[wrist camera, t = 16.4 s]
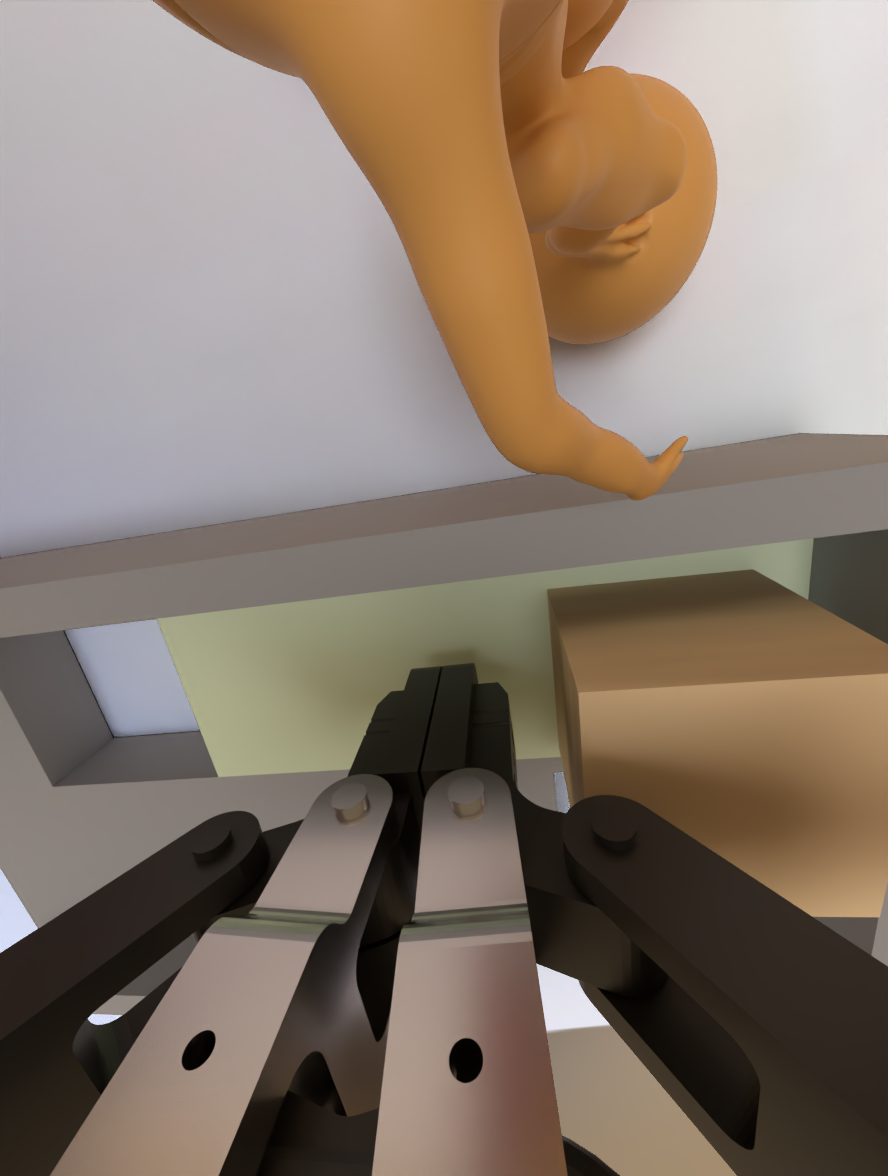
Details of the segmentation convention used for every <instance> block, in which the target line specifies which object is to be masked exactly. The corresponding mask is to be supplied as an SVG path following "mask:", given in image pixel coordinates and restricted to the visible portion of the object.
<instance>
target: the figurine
mask: <svg viewBox="0 0 888 1176" xmlns="http://www.w3.org/2000/svg"><path fill="white" fill-rule="evenodd" d="M153 1H154V2H155V3H157V4H158V5H159V6H161V7H162V8H163V9H164V10H166V11H167V12H169V13H170V14H171V15H173V16H174V17H175V18H177V19H178V20H180V21H181V22H183V23H184V24H186V25H187V26H189V27H190V28H192V29H193V30H195V31H196V32H198V33H199V34H201V35H203V36H204V37H206V38H208V39H209V40H211V41H213V42H215V43H216V44H218V45H220V46H222V47H224V48H225V49H227V50H229V51H231V52H234V53H236V54H238V55H240V56H242V57H244V58H247V59H249V60H252V61H254V62H256V63H258V64H260V65H263V66H265V67H268V68H270V69H273V70H276V71H279V72H282V73H285V74H288V75H292V76H295V77H299V78H301V79H302V80H303V81H304V82H305V83H306V84H307V85H308V87H309V88H310V90H311V91H312V93H313V94H314V96H315V97H316V99H317V101H318V102H319V104H320V106H321V107H322V109H323V111H324V112H325V114H326V116H327V117H328V119H329V121H330V122H331V124H332V126H333V127H334V129H335V131H336V132H337V134H338V135H339V137H340V139H341V140H342V142H343V143H344V145H345V146H346V148H347V150H348V151H349V153H350V154H351V156H352V157H353V159H354V160H355V162H356V163H357V165H358V166H359V167H360V169H361V170H362V172H363V173H364V175H365V176H366V178H367V179H368V181H369V182H370V184H371V186H372V187H373V189H374V190H375V192H376V193H377V195H378V197H379V198H380V200H381V202H382V204H383V205H384V207H385V209H386V211H387V212H388V214H389V216H390V218H391V220H392V222H393V224H394V226H395V228H396V230H397V233H398V235H399V237H400V239H401V242H402V244H403V247H404V249H405V251H406V254H407V257H408V259H409V262H410V264H411V267H412V270H413V272H414V275H415V277H416V280H417V283H418V285H419V287H420V290H421V292H422V295H423V297H424V299H425V302H426V304H427V306H428V309H429V311H430V313H431V315H432V318H433V320H434V322H435V324H436V327H437V329H438V331H439V333H440V336H441V338H442V340H443V342H444V344H445V347H446V349H447V351H448V353H449V355H450V358H451V360H452V362H453V364H454V366H455V369H456V371H457V373H458V375H459V377H460V380H461V382H462V384H463V386H464V388H465V390H466V393H467V395H468V397H469V399H470V401H471V403H472V405H473V407H474V409H475V411H476V413H477V415H478V417H479V419H480V421H481V423H482V425H483V427H484V429H485V431H486V432H487V434H488V436H489V437H490V439H491V441H492V442H493V444H494V445H495V447H496V448H497V449H498V451H499V452H500V453H501V454H502V455H503V456H504V457H505V458H506V459H507V460H508V461H510V462H511V463H512V464H514V465H516V466H518V467H520V468H522V469H524V470H526V471H529V472H533V473H538V474H547V475H562V476H567V477H569V478H572V479H574V480H576V481H578V482H581V483H584V484H587V485H590V486H593V487H596V488H598V489H601V490H604V491H607V492H612V493H625V494H626V495H627V496H628V497H629V498H630V499H632V500H643V499H645V498H647V497H649V496H651V495H653V494H654V493H655V492H657V491H658V490H659V489H660V488H661V487H662V485H663V484H665V483H666V482H667V480H668V478H669V477H670V476H671V474H672V473H673V472H674V471H675V470H676V468H677V467H678V465H679V464H680V462H681V460H682V459H683V457H684V454H683V453H682V452H680V451H681V450H682V448H683V447H684V445H685V444H686V442H687V441H688V437H687V436H683V437H681V438H679V439H677V440H676V441H675V442H674V443H673V444H672V445H671V446H670V447H669V448H668V449H667V450H666V451H664V452H663V453H662V454H661V455H660V456H659V457H658V458H657V459H655V460H654V461H653V462H652V463H649V462H648V461H647V459H646V458H645V457H644V455H643V454H642V453H641V452H640V451H639V450H638V449H637V448H636V447H635V446H634V445H633V444H632V443H630V442H629V441H628V440H626V439H625V438H623V437H622V436H620V435H618V434H616V433H614V432H611V431H609V430H606V429H603V428H600V427H598V426H596V425H595V424H593V423H592V422H591V421H590V420H589V419H588V418H587V417H586V416H585V415H584V414H583V413H581V412H580V411H579V410H577V409H576V408H574V407H573V406H571V405H570V404H569V403H567V402H566V401H565V400H564V399H563V398H561V397H560V396H559V394H558V393H557V390H556V385H555V379H554V372H553V366H552V359H551V352H550V344H549V338H548V337H550V338H553V339H555V340H558V341H562V342H566V343H572V344H595V343H601V342H605V341H609V340H612V339H615V338H618V337H621V336H623V335H625V334H627V333H629V332H631V331H633V330H635V329H637V328H638V327H640V326H642V325H643V324H645V323H646V322H647V321H649V320H650V319H651V318H653V317H654V316H655V315H656V314H657V313H659V312H660V311H661V310H662V309H663V308H664V307H665V306H666V305H667V304H668V303H669V302H670V301H671V300H672V298H673V297H674V296H675V295H676V294H677V293H678V291H679V290H680V289H681V287H682V286H683V285H684V283H685V282H686V280H687V279H688V277H689V276H690V274H691V272H692V271H693V269H694V267H695V265H696V263H697V261H698V259H699V257H700V255H701V253H702V251H703V248H704V246H705V243H706V241H707V238H708V235H709V232H710V228H711V224H712V220H713V216H714V211H715V205H716V196H717V167H716V159H715V153H714V148H713V144H712V141H711V138H710V135H709V132H708V130H707V127H706V125H705V123H704V121H703V119H702V117H701V116H700V114H699V112H698V111H697V109H696V108H695V107H694V105H693V104H692V103H691V102H690V101H689V100H688V99H687V98H686V97H685V96H684V95H683V94H682V93H681V92H680V91H678V90H677V89H676V88H674V87H673V86H671V85H670V84H668V83H666V82H664V81H662V80H659V79H657V78H654V77H650V76H646V75H641V74H629V73H627V72H626V71H624V70H623V69H621V68H618V67H614V66H601V67H597V68H593V69H590V70H588V71H586V72H584V73H583V71H584V69H585V67H586V65H587V63H588V62H589V60H590V58H591V57H592V55H593V54H594V52H595V51H596V49H597V48H598V47H599V45H600V44H601V42H602V41H603V40H604V38H605V37H606V35H607V34H608V33H609V31H610V30H611V28H612V27H613V25H614V24H615V22H616V21H617V19H618V18H619V16H620V14H621V13H622V11H623V9H624V7H625V6H626V4H627V2H628V0H153Z"/></svg>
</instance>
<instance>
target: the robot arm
mask: <svg viewBox="0 0 888 1176" xmlns="http://www.w3.org/2000/svg"><path fill="white" fill-rule="evenodd" d="M192 934H193V936H194V938H195V940H196V942H197V945H196V947H195V948H194V950H193V952H192V953H191V955H190V956H189V958H188V959H187V961H186V963H185V964H184V965H183V966H182V967H181V968H180V969H179V970H177V971H176V972H175V973H174V974H173V975H171V976H170V977H169V978H168V979H166V980H165V981H164V982H163V983H162V984H160V985H159V986H158V987H157V988H156V989H154V990H153V991H152V992H151V993H149V994H148V995H147V996H146V997H145V998H143V999H142V1000H141V1001H140V1002H139V1003H137V1004H136V1005H135V1006H134V1007H132V1008H131V1009H130V1010H129V1011H128V1012H126V1013H125V1014H124V1015H122V1016H121V1017H120V1018H118V1019H116V1020H114V1021H112V1022H110V1023H107V1024H103V1025H95V1024H92V1023H90V1021H89V1020H88V1019H87V1018H88V1017H89V1016H90V1015H91V1014H92V1013H93V1012H95V1011H96V1010H97V1009H98V1008H99V1007H101V1006H102V1005H103V1004H104V1003H106V1002H107V1001H108V1000H109V999H111V998H112V997H113V996H114V995H116V994H117V993H118V992H120V991H121V990H122V989H123V988H125V987H126V986H127V985H128V984H130V983H131V982H132V981H133V980H135V979H136V978H137V977H139V976H140V975H141V974H142V973H144V972H145V971H146V970H147V969H149V968H150V967H151V966H152V965H154V964H155V963H156V962H158V961H159V960H160V959H161V958H163V957H164V956H165V955H166V954H168V953H169V952H170V951H171V950H173V949H174V948H175V947H177V946H178V945H179V944H180V943H182V942H183V941H184V940H185V939H187V938H188V937H189V936H190V935H192ZM536 963H537V964H539V965H542V966H544V967H547V968H550V969H552V970H555V971H557V972H560V973H562V974H565V975H568V976H570V977H573V978H575V979H578V980H579V983H580V985H581V987H582V989H583V991H584V993H585V994H586V996H587V997H588V998H589V1000H590V1001H591V1002H592V1004H593V1005H594V1006H595V1007H596V1008H597V1010H598V1011H599V1012H600V1013H601V1014H602V1015H603V1017H604V1018H605V1019H606V1020H607V1021H608V1023H609V1024H610V1025H611V1026H612V1027H613V1028H614V1029H615V1031H616V1032H617V1033H618V1034H619V1036H620V1037H621V1038H622V1039H623V1040H624V1042H625V1043H626V1044H627V1045H628V1046H629V1047H630V1049H631V1050H632V1051H633V1052H634V1054H635V1055H636V1056H637V1057H638V1058H639V1059H640V1061H641V1062H642V1063H643V1064H644V1065H645V1066H646V1068H647V1069H648V1070H649V1071H650V1073H651V1074H652V1075H653V1076H654V1077H655V1078H656V1080H657V1081H658V1082H659V1083H660V1084H661V1086H662V1087H663V1088H664V1089H665V1090H666V1092H667V1093H668V1094H669V1095H670V1096H671V1097H672V1099H673V1100H674V1101H675V1102H676V1103H677V1105H678V1106H679V1107H680V1108H681V1109H682V1111H683V1112H684V1113H685V1114H686V1115H687V1117H688V1118H689V1119H690V1120H691V1121H692V1122H693V1124H694V1125H695V1126H696V1127H697V1128H698V1129H699V1131H700V1132H701V1133H702V1134H703V1135H704V1136H705V1138H706V1139H707V1140H708V1141H709V1142H710V1144H711V1145H712V1146H713V1147H714V1149H715V1150H716V1151H717V1152H718V1153H719V1155H720V1156H721V1157H722V1158H723V1159H724V1160H725V1162H726V1163H727V1164H728V1165H729V1166H730V1168H731V1169H732V1170H733V1171H734V1172H735V1174H736V1175H737V1176H888V966H886V965H885V964H883V963H882V962H880V961H879V960H877V959H876V958H874V957H873V956H871V955H870V954H868V953H867V952H865V951H864V950H862V949H861V948H859V947H858V946H856V945H855V944H853V943H852V942H850V941H848V940H847V939H845V938H844V937H842V936H841V935H839V934H838V933H836V932H835V931H833V930H832V929H830V928H829V927H827V926H826V925H824V924H823V923H821V922H820V921H818V920H817V919H815V918H814V917H812V916H811V915H809V914H808V913H806V912H804V911H803V910H801V909H800V908H798V907H797V906H795V905H794V904H792V903H791V902H789V901H788V900H786V899H785V898H783V897H782V896H780V895H779V894H777V893H776V892H774V891H773V890H771V889H770V888H768V887H767V886H765V885H764V884H762V883H761V882H759V881H757V880H756V879H754V878H753V877H751V876H750V875H748V874H747V873H745V872H744V871H742V870H741V869H739V868H738V867H736V866H735V865H733V864H732V863H730V862H729V861H727V860H726V859H724V858H723V857H721V856H720V855H718V854H717V853H715V852H714V851H712V850H710V849H709V848H707V847H706V846H704V845H703V844H701V843H700V842H698V841H697V840H695V839H694V838H692V837H691V836H689V835H688V834H686V833H685V832H683V831H682V830H680V829H679V828H677V827H676V826H674V825H673V824H671V823H670V822H668V821H667V820H665V819H663V818H662V817H660V816H659V815H657V814H656V813H654V812H653V811H651V810H650V809H648V808H647V807H645V806H643V805H642V804H640V803H638V802H636V801H633V800H631V799H628V798H625V797H621V796H615V795H596V796H592V797H588V798H585V799H583V800H581V801H579V802H577V803H576V804H574V805H573V806H572V807H571V808H570V809H569V810H568V812H567V813H562V812H558V811H553V810H550V809H546V808H543V807H541V806H538V805H536V804H534V803H533V802H531V801H529V800H528V799H527V798H525V797H524V796H523V795H522V794H521V793H520V792H519V790H518V783H517V768H516V752H515V743H514V736H513V728H512V720H511V713H510V705H509V698H508V693H507V692H506V691H505V690H504V689H503V687H502V686H501V685H500V684H499V683H498V682H494V683H482V684H478V678H477V672H476V667H475V664H474V663H467V664H456V665H446V666H443V667H442V666H436V667H425V668H414V669H411V671H410V673H409V676H408V679H407V682H406V685H405V688H404V690H401V691H391V692H390V693H389V694H388V695H387V696H386V697H385V698H384V699H383V700H382V701H381V702H380V703H378V704H377V706H376V709H375V711H374V714H373V716H372V718H371V723H369V726H368V728H367V730H366V735H364V738H363V740H362V742H361V745H360V747H359V749H358V752H357V754H356V757H355V759H354V761H353V764H352V766H351V769H350V771H349V773H348V776H347V777H346V778H343V779H341V780H339V781H337V782H335V783H333V784H332V785H330V786H329V787H327V788H326V789H325V790H324V791H323V792H322V793H321V794H320V795H319V796H318V797H317V798H316V800H315V801H314V803H313V804H312V806H311V808H310V810H309V811H308V813H307V815H306V817H305V818H304V819H302V820H299V821H296V822H293V823H290V824H287V825H283V826H280V827H277V828H274V829H271V830H267V831H264V832H262V829H261V826H260V824H259V821H258V819H257V818H256V816H254V815H253V814H252V813H249V812H246V811H231V812H226V813H222V814H220V815H217V816H214V817H212V818H210V819H208V820H206V821H204V822H203V823H201V824H199V825H198V826H196V827H195V828H193V829H191V830H190V831H188V832H187V833H185V834H184V835H182V836H181V837H179V838H178V839H176V840H174V841H173V842H171V843H170V844H168V845H167V846H165V847H164V848H162V849H161V850H159V851H157V852H156V853H154V854H153V855H151V856H150V857H148V858H147V859H145V860H144V861H142V862H140V863H139V864H137V865H136V866H134V867H133V868H131V869H130V870H128V871H127V872H125V873H123V874H122V875H120V876H119V877H117V878H116V879H114V880H113V881H111V882H110V883H108V884H106V885H105V886H103V887H102V888H100V889H99V890H97V891H96V892H94V893H93V894H91V895H89V896H88V897H86V898H85V899H83V900H82V901H80V902H79V903H77V904H76V905H74V906H72V907H71V908H69V909H68V910H66V911H65V912H63V913H62V914H60V915H59V916H57V917H55V918H54V919H52V920H51V921H49V922H48V923H46V924H45V925H43V926H42V927H40V928H38V929H37V930H35V931H34V932H32V933H31V934H29V935H28V936H26V937H25V938H23V939H21V940H20V941H18V942H17V943H15V944H14V945H12V946H11V947H9V948H8V949H6V950H4V951H3V952H1V953H0V1176H620V1175H619V1174H617V1173H616V1172H615V1171H614V1170H612V1169H611V1168H610V1167H609V1166H608V1165H606V1164H605V1163H604V1162H603V1161H602V1160H600V1159H599V1158H598V1157H597V1156H596V1155H594V1154H593V1153H591V1152H589V1151H588V1150H586V1149H585V1148H583V1147H581V1146H580V1145H578V1144H577V1143H575V1142H574V1141H572V1140H571V1139H568V1138H566V1137H564V1136H562V1134H561V1128H560V1121H559V1114H558V1107H557V1100H556V1094H555V1087H554V1080H553V1074H552V1067H551V1060H550V1053H549V1047H548V1040H547V1033H546V1026H545V1020H544V1013H543V1006H542V999H541V993H540V986H539V979H538V972H537V966H536Z"/></svg>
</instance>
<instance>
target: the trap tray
mask: <svg viewBox="0 0 888 1176" xmlns="http://www.w3.org/2000/svg"><path fill="white" fill-rule="evenodd" d="M682 453H683V454H684V457H683V459H682V460H681V462H680V464H679V465H678V467H677V468H676V470H675V471H674V472H673V473H672V474H671V476H670V477H669V478H668V480H667V482H666V483H665V484H663V485H662V487H661V488H660V489H659V490H658V491H657V492H655V493H654V494H653V495H651V496H649V497H647V498H645V499H643V500H632V499H630V498H629V497H628V496H627V495H626V494H625V493H612V492H607V491H604V490H601V489H598V488H596V487H593V486H590V485H587V484H584V483H581V482H578V481H576V480H574V479H572V478H569V477H567V476H562V475H547V474H536V475H530V476H523V477H517V478H510V479H504V480H498V481H491V482H485V483H478V484H472V485H466V486H459V487H453V488H446V489H440V490H434V491H427V492H421V493H414V494H408V495H402V496H395V497H389V498H382V499H376V500H369V501H363V502H357V503H350V504H344V505H337V506H331V507H325V508H318V509H312V510H305V511H299V512H293V513H286V514H280V515H273V516H267V517H260V518H254V519H248V520H241V521H235V522H228V523H222V524H216V525H209V526H203V527H196V528H190V529H184V530H177V531H171V532H164V533H158V534H151V535H145V536H139V537H132V538H126V539H119V540H113V541H107V542H100V543H94V544H87V545H81V546H75V547H68V548H62V549H55V550H49V551H42V552H36V553H30V554H23V555H17V556H10V557H4V558H0V868H1V870H2V871H3V873H4V875H5V876H6V878H7V879H8V881H9V883H10V884H11V886H12V887H13V889H14V891H15V892H16V894H17V895H18V897H19V899H20V900H21V902H22V903H23V905H24V907H25V908H26V910H27V911H28V913H29V915H30V916H31V918H32V919H33V921H34V923H35V924H36V926H37V927H38V928H40V927H42V926H43V925H45V924H46V923H48V922H49V921H51V920H52V919H54V918H55V917H57V916H59V915H60V914H62V913H63V912H65V911H66V910H68V909H69V908H71V907H72V906H74V905H76V904H77V903H79V902H80V901H82V900H83V899H85V898H86V897H88V896H89V895H91V894H93V893H94V892H96V891H97V890H99V889H100V888H102V887H103V886H105V885H106V884H108V883H110V882H111V881H113V880H114V879H116V878H117V877H119V876H120V875H122V874H123V873H125V872H127V871H128V870H130V869H131V868H133V867H134V866H136V865H137V864H139V863H140V862H142V861H144V860H145V859H147V858H148V857H150V856H151V855H153V854H154V853H156V852H157V851H159V850H161V849H162V848H164V847H165V846H167V845H168V844H170V843H171V842H173V841H174V840H176V839H178V838H179V837H181V836H182V835H184V834H185V833H187V832H188V831H190V830H191V829H193V828H195V827H196V826H198V825H199V824H201V823H203V822H204V821H206V820H208V819H210V818H212V817H214V816H217V815H220V814H222V813H226V812H231V811H246V812H249V813H252V814H253V815H254V816H256V818H257V819H258V821H259V824H260V826H261V829H262V832H264V831H267V830H271V829H274V828H277V827H280V826H283V825H287V824H290V823H293V822H296V821H299V820H302V819H304V818H305V817H306V815H307V813H308V811H309V810H310V808H311V806H312V804H313V803H314V801H315V800H316V798H317V797H318V796H319V795H320V794H321V793H322V792H323V791H324V790H325V789H326V788H327V787H329V786H330V785H332V784H333V783H335V782H337V781H339V780H341V779H343V778H346V777H347V776H348V773H349V771H350V769H351V766H352V764H353V761H354V759H355V757H356V754H357V752H358V749H359V747H360V745H361V742H362V740H363V738H364V735H366V730H367V728H368V726H369V723H371V718H372V716H373V714H374V711H375V709H376V706H377V704H378V703H380V702H381V701H382V700H383V699H384V698H385V697H386V696H387V695H388V694H389V693H390V692H391V691H401V690H404V688H405V685H406V682H407V679H408V676H409V673H410V671H411V669H414V668H425V667H436V666H442V667H443V666H446V665H456V664H467V663H474V664H475V667H476V672H477V678H478V684H482V683H494V682H498V683H499V684H500V685H501V686H502V687H503V689H504V690H505V691H506V692H507V693H508V698H509V705H510V713H511V720H512V728H513V736H514V743H515V752H516V768H517V783H518V790H519V792H520V793H521V794H522V795H523V796H524V797H525V798H527V799H528V800H529V801H531V802H533V803H534V804H536V805H538V806H541V807H543V808H546V809H550V810H553V811H557V805H556V796H555V787H554V778H553V772H564V770H563V765H562V760H561V755H560V750H559V741H558V728H557V714H556V701H555V688H554V675H553V661H552V648H551V635H550V622H549V609H548V595H547V589H553V588H563V587H574V586H584V585H595V584H605V583H615V582H626V581H636V580H647V579H657V578H667V577H678V576H688V575H699V574H709V573H719V572H730V571H740V570H751V569H754V570H755V571H757V572H759V573H761V574H763V575H764V576H766V577H768V578H770V579H772V580H773V581H775V582H777V583H779V584H781V585H782V586H784V587H786V588H788V589H789V590H791V591H793V592H795V593H797V594H798V595H800V596H802V597H804V598H806V599H807V600H809V601H811V602H813V603H815V604H816V605H818V606H820V607H822V608H823V609H825V610H827V611H829V612H831V613H832V614H834V615H836V616H838V617H840V618H841V619H843V620H845V621H847V622H849V623H850V624H852V625H854V626H856V627H858V628H859V629H861V630H863V631H865V632H866V633H868V634H870V635H872V636H874V637H875V638H877V639H879V640H881V641H883V642H884V643H886V644H888V435H855V434H809V433H799V434H793V435H786V436H780V437H773V438H767V439H761V440H754V441H748V442H741V443H735V444H728V445H722V446H716V447H709V448H703V449H696V450H690V451H684V452H682ZM659 456H660V455H658V456H652V457H645V458H646V459H647V461H648V462H649V463H652V462H653V461H654V460H655V459H657V458H658V457H659ZM151 619H157V622H158V624H159V627H160V629H161V632H162V634H163V637H164V639H165V642H166V645H167V647H168V650H169V652H170V655H171V657H172V660H173V662H174V665H175V667H176V670H177V673H178V675H179V678H180V680H181V683H182V685H183V688H184V690H185V693H186V695H187V698H188V701H189V703H190V706H191V708H192V711H193V713H194V716H195V718H196V721H197V724H198V726H199V729H200V731H197V732H184V733H171V734H159V735H146V736H133V737H120V738H113V737H112V734H111V732H110V730H109V728H108V726H107V724H106V721H105V719H104V717H103V715H102V713H101V711H100V709H99V706H98V704H97V702H96V700H95V698H94V696H93V694H92V691H91V689H90V687H89V685H88V683H87V681H86V679H85V676H84V674H83V672H82V670H81V668H80V666H79V664H78V661H77V659H76V657H75V655H74V653H73V651H72V648H71V646H70V644H69V642H68V640H67V638H66V636H65V633H64V631H63V630H69V629H77V628H85V627H94V626H102V625H110V624H118V623H126V622H134V621H143V620H151ZM814 918H815V919H817V920H818V921H820V922H821V923H823V924H824V925H826V926H827V927H829V928H830V929H832V930H833V931H835V932H836V933H838V934H839V935H841V936H842V937H844V938H845V939H847V940H848V941H850V942H852V943H853V944H855V945H856V946H858V947H859V948H861V949H862V950H864V951H865V952H867V953H868V954H870V955H871V956H873V957H874V958H876V959H877V960H879V961H880V962H882V963H883V964H885V965H886V966H888V883H887V887H886V892H885V896H884V901H883V905H882V910H881V914H880V917H814ZM196 945H197V942H196V940H195V938H194V936H193V934H192V935H190V936H189V937H188V938H187V939H185V940H184V941H183V942H182V943H180V944H179V945H178V946H177V947H175V948H174V949H173V950H171V951H170V952H169V953H168V954H166V955H165V956H164V957H163V958H161V959H160V960H159V961H158V962H156V963H155V964H154V965H152V966H151V967H150V968H149V969H147V970H146V971H145V972H144V973H142V974H141V975H140V976H139V977H137V978H136V979H135V980H133V981H132V982H131V983H130V984H128V985H127V986H126V987H125V988H123V989H122V990H121V991H120V992H118V993H117V994H116V995H114V996H113V997H112V998H111V999H109V1000H108V1001H107V1002H106V1003H104V1004H103V1005H102V1006H101V1007H99V1008H98V1009H97V1010H96V1011H95V1012H93V1013H92V1014H110V1015H124V1014H125V1013H126V1012H128V1011H129V1010H130V1009H131V1008H132V1007H134V1006H135V1005H136V1004H137V1003H139V1002H140V1001H141V1000H142V999H143V998H145V997H146V996H147V995H148V994H149V993H151V992H152V991H153V990H154V989H156V988H157V987H158V986H159V985H160V984H162V983H163V982H164V981H165V980H166V979H168V978H169V977H170V976H171V975H173V974H174V973H175V972H176V971H177V970H179V969H180V968H181V967H182V966H183V965H184V964H185V963H186V961H187V959H188V958H189V956H190V955H191V953H192V952H193V950H194V948H195V947H196Z"/></svg>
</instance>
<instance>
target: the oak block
mask: <svg viewBox="0 0 888 1176" xmlns="http://www.w3.org/2000/svg"><path fill="white" fill-rule="evenodd" d="M547 595H548V609H549V622H550V635H551V648H552V661H553V675H554V688H555V701H556V714H557V728H558V741H559V750H560V755H561V760H562V765H563V770H564V776H565V781H566V786H567V791H568V797H569V802H570V807H572V806H573V805H574V804H576V803H577V802H579V801H581V800H583V799H585V798H588V797H592V796H596V795H615V796H621V797H625V798H628V799H631V800H633V801H636V802H638V803H640V804H642V805H643V806H645V807H647V808H648V809H650V810H651V811H653V812H654V813H656V814H657V815H659V816H660V817H662V818H663V819H665V820H667V821H668V822H670V823H671V824H673V825H674V826H676V827H677V828H679V829H680V830H682V831H683V832H685V833H686V834H688V835H689V836H691V837H692V838H694V839H695V840H697V841H698V842H700V843H701V844H703V845H704V846H706V847H707V848H709V849H710V850H712V851H714V852H715V853H717V854H718V855H720V856H721V857H723V858H724V859H726V860H727V861H729V862H730V863H732V864H733V865H735V866H736V867H738V868H739V869H741V870H742V871H744V872H745V873H747V874H748V875H750V876H751V877H753V878H754V879H756V880H757V881H759V882H761V883H762V884H764V885H765V886H767V887H768V888H770V889H771V890H773V891H774V892H776V893H777V894H779V895H780V896H782V897H783V898H785V899H786V900H788V901H789V902H791V903H792V904H794V905H795V906H797V907H798V908H800V909H801V910H803V911H804V912H806V913H808V914H809V915H811V916H812V917H880V914H881V910H882V905H883V901H884V896H885V892H886V887H887V883H888V644H886V643H884V642H883V641H881V640H879V639H877V638H875V637H874V636H872V635H870V634H868V633H866V632H865V631H863V630H861V629H859V628H858V627H856V626H854V625H852V624H850V623H849V622H847V621H845V620H843V619H841V618H840V617H838V616H836V615H834V614H832V613H831V612H829V611H827V610H825V609H823V608H822V607H820V606H818V605H816V604H815V603H813V602H811V601H809V600H807V599H806V598H804V597H802V596H800V595H798V594H797V593H795V592H793V591H791V590H789V589H788V588H786V587H784V586H782V585H781V584H779V583H777V582H775V581H773V580H772V579H770V578H768V577H766V576H764V575H763V574H761V573H759V572H757V571H755V570H754V569H751V570H740V571H730V572H719V573H709V574H699V575H688V576H678V577H667V578H657V579H647V580H636V581H626V582H615V583H605V584H595V585H584V586H574V587H563V588H553V589H547Z"/></svg>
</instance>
